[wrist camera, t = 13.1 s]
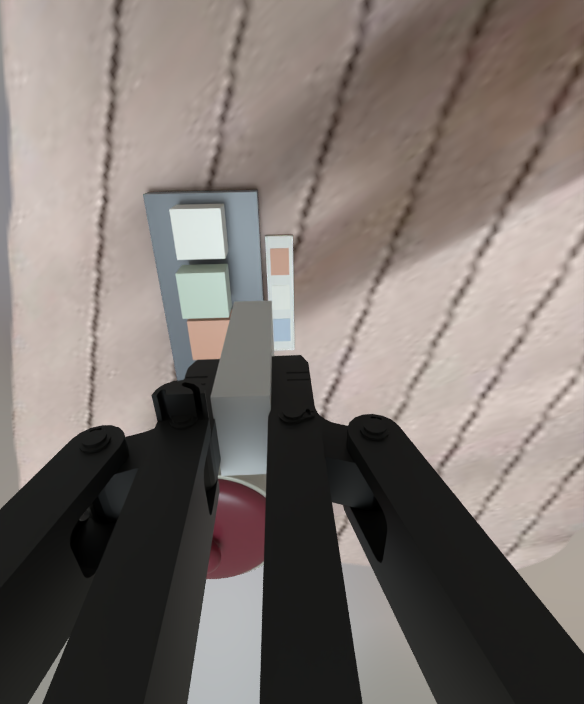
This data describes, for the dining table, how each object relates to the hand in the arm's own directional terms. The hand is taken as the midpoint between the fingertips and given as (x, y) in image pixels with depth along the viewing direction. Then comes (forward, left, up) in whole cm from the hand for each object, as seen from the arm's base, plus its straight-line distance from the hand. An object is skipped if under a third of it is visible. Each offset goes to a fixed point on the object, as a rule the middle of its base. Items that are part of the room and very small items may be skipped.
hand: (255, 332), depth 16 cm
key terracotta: (+13, -7, -30) cm, 33 cm away
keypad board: (+10, -7, -32) cm, 35 cm away
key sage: (+7, -7, -28) cm, 30 cm away
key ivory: (+1, -7, -30) cm, 30 cm away
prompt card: (+10, +1, -32) cm, 34 cm away
